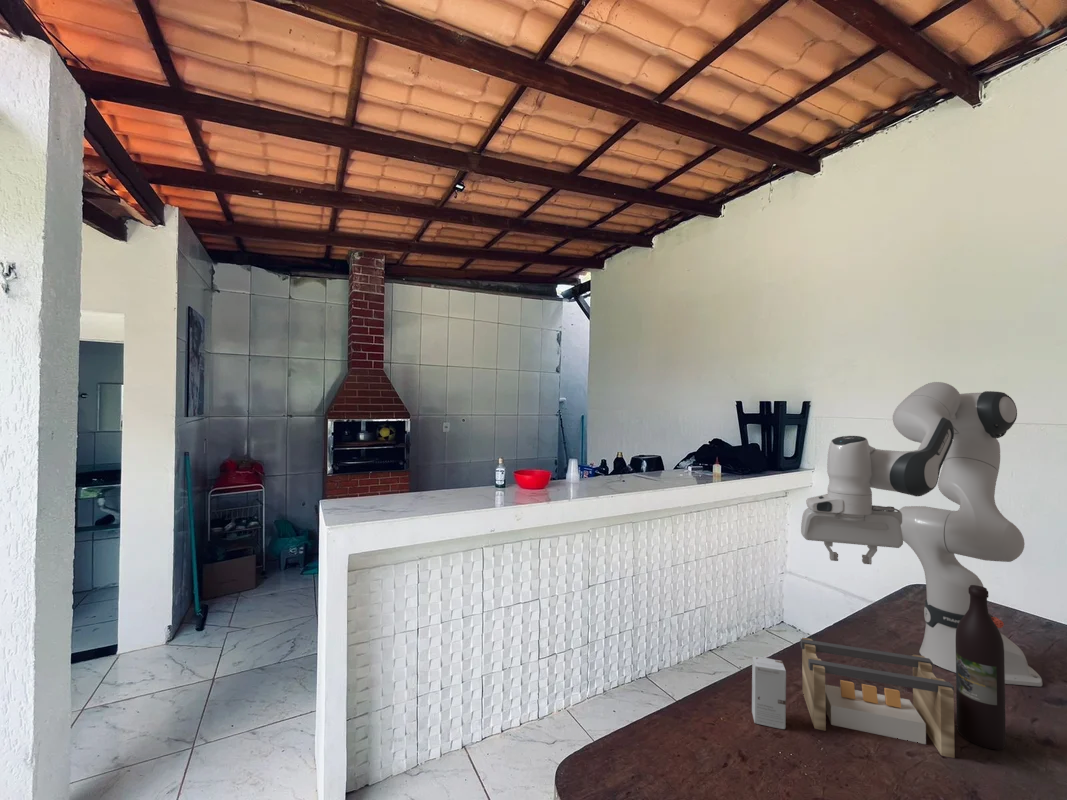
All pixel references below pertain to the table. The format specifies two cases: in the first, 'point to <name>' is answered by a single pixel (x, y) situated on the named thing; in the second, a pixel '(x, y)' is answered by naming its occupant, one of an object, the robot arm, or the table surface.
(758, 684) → the skincare box
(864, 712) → the breaker strip
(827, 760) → the table surface
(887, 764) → the table surface
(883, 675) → the grey bar
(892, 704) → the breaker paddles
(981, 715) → the wine bottle
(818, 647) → the long charcoal square rod
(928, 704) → the rack
